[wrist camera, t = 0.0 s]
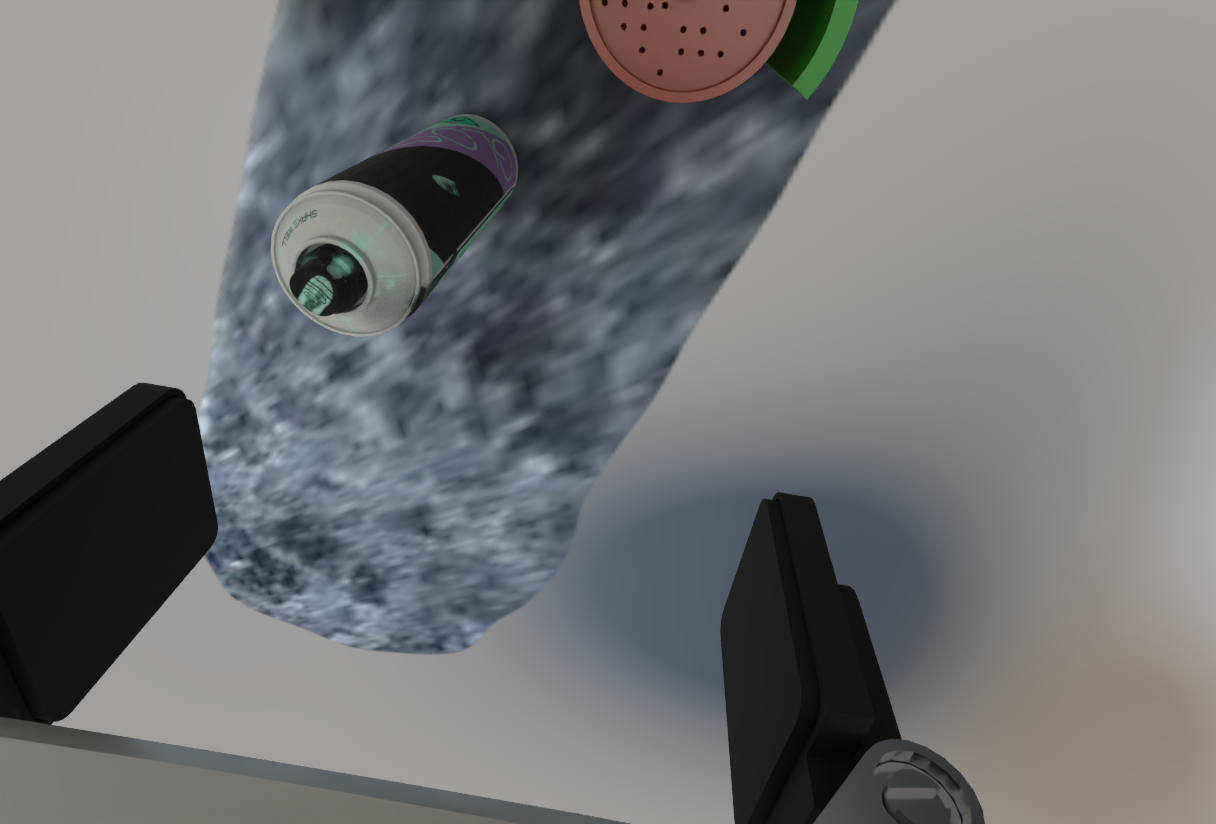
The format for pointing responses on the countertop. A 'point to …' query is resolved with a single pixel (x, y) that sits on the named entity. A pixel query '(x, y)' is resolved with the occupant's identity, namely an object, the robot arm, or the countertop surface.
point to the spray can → (392, 225)
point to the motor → (716, 42)
